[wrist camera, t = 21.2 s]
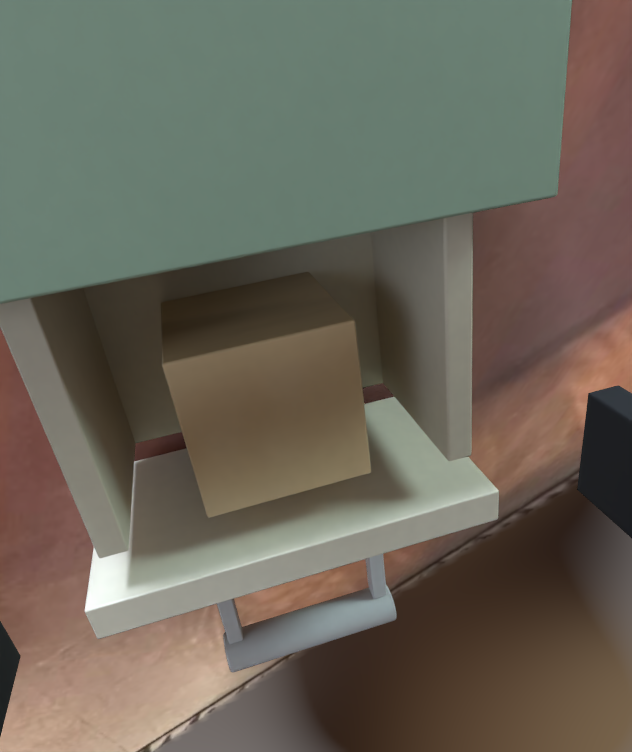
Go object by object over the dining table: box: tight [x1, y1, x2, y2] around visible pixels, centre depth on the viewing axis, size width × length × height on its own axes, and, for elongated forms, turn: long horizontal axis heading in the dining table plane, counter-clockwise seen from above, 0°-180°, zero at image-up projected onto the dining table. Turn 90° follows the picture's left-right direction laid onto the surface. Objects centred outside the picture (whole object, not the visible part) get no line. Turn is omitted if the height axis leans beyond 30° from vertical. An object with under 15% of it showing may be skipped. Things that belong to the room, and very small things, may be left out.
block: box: [161, 272, 371, 518], centre depth 17 cm, size 5×5×5 cm
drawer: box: [0, 213, 499, 672], centre depth 17 cm, size 24×13×7 cm, turn 8°
